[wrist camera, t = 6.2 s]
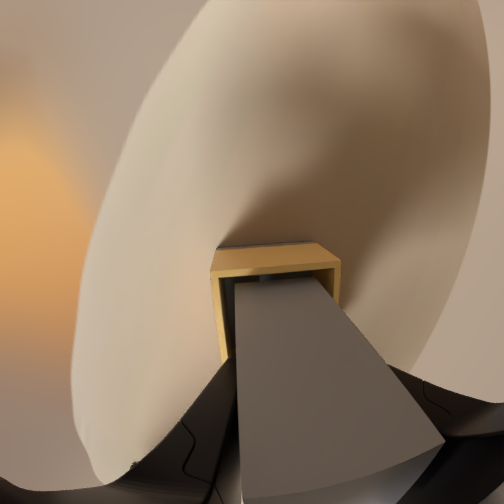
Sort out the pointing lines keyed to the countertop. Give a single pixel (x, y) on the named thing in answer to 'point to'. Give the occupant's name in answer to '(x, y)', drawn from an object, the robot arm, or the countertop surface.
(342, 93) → the countertop surface
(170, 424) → the countertop surface
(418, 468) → the plug
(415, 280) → the countertop surface
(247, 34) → the countertop surface
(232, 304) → the socket block
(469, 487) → the robot arm
